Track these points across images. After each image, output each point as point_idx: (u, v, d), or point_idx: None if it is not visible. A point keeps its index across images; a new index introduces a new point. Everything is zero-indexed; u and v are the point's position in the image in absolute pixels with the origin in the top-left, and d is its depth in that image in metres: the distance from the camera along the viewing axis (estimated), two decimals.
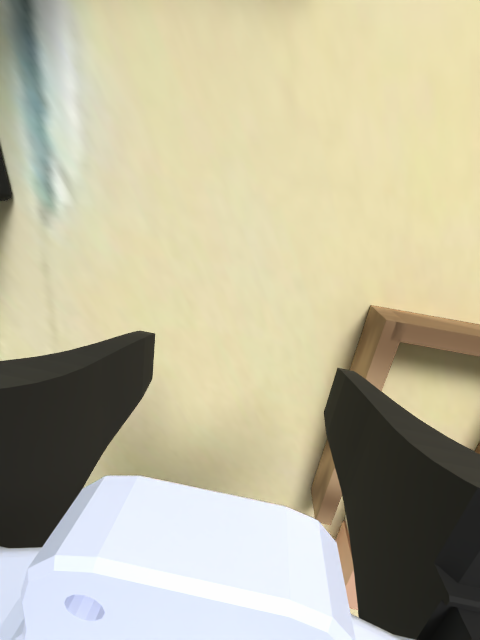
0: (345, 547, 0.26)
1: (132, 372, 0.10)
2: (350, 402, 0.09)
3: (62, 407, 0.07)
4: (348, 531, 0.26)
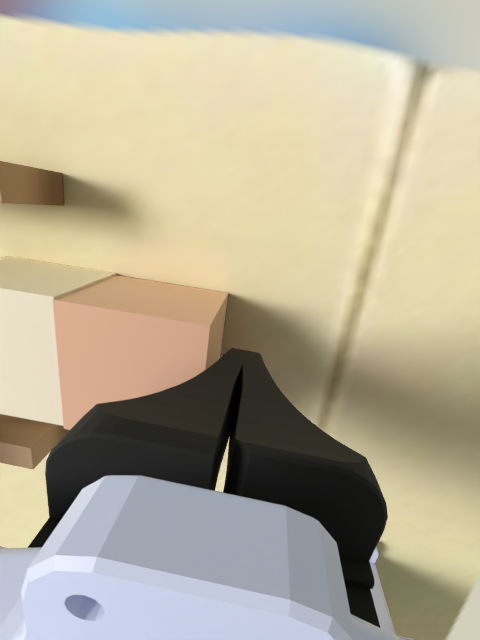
0: None
1: (237, 392, 0.10)
2: (239, 380, 0.10)
3: (221, 438, 0.06)
4: None
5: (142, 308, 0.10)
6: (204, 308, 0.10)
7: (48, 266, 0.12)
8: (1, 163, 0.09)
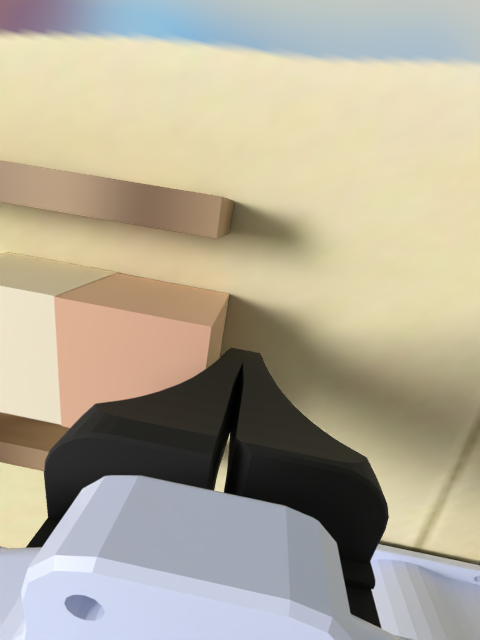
0: None
1: (236, 392, 0.10)
2: (240, 381, 0.10)
3: (221, 438, 0.06)
4: None
5: (143, 307, 0.10)
6: (205, 309, 0.10)
7: (49, 264, 0.12)
8: (222, 199, 0.09)
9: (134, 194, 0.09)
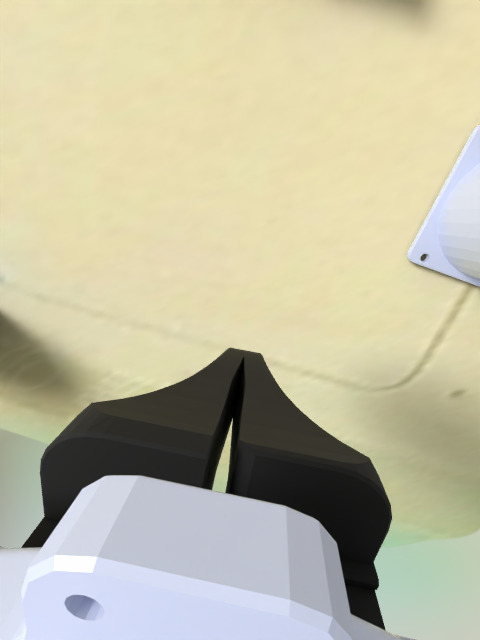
0: None
1: (235, 392, 0.10)
2: (241, 381, 0.10)
3: (218, 437, 0.06)
4: None
5: None
6: None
7: None
8: None
9: None
